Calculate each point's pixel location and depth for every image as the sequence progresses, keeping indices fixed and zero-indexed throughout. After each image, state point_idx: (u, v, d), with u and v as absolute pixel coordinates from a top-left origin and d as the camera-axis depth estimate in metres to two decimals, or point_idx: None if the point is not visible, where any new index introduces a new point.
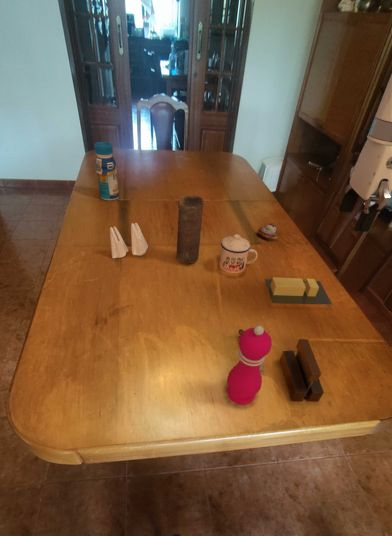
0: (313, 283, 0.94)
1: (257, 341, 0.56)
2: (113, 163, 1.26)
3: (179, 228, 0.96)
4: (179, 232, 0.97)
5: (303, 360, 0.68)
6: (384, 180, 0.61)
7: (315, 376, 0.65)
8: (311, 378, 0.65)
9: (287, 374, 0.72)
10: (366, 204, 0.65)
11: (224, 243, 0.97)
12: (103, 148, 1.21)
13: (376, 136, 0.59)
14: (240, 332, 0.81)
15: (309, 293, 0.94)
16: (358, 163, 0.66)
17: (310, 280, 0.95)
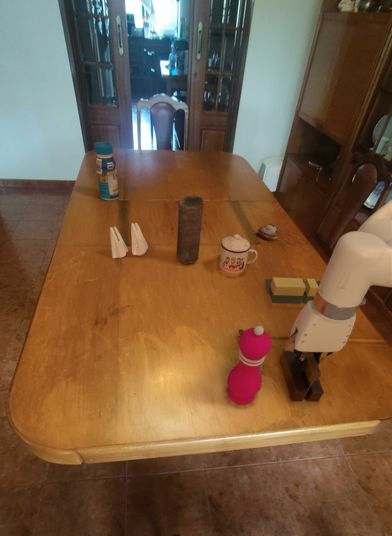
0: (313, 283, 0.94)
1: (257, 341, 0.56)
2: (113, 163, 1.26)
3: (179, 228, 0.96)
4: (179, 232, 0.97)
5: None
6: None
7: (315, 376, 0.65)
8: (311, 378, 0.65)
9: (287, 374, 0.72)
10: (324, 355, 0.66)
11: (224, 243, 0.97)
12: (103, 148, 1.21)
13: (349, 317, 0.55)
14: (240, 332, 0.81)
15: (309, 293, 0.94)
16: (310, 336, 0.60)
17: (310, 280, 0.95)
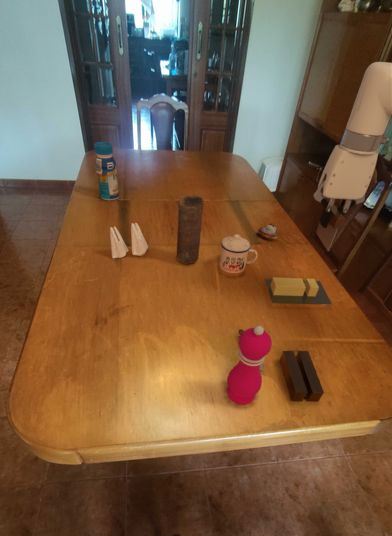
0: (313, 283, 0.94)
1: (257, 341, 0.56)
2: (113, 163, 1.26)
3: (179, 228, 0.96)
4: (179, 232, 0.97)
5: None
6: None
7: (340, 221, 0.74)
8: (336, 225, 0.75)
9: (287, 374, 0.72)
10: (347, 205, 0.75)
11: (224, 243, 0.97)
12: (103, 148, 1.21)
13: (373, 149, 0.65)
14: (240, 332, 0.81)
15: (309, 293, 0.94)
16: (338, 177, 0.70)
17: (310, 280, 0.95)
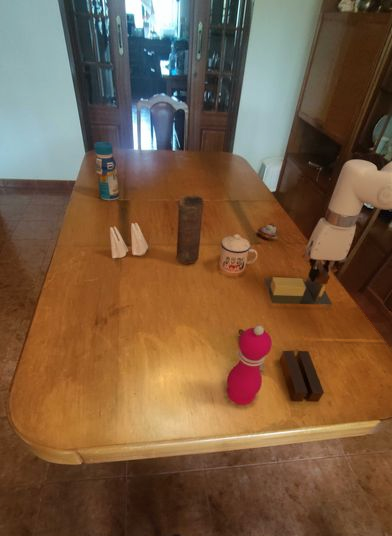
0: None
1: (257, 341, 0.56)
2: (113, 163, 1.26)
3: (179, 228, 0.96)
4: (179, 232, 0.97)
5: None
6: None
7: (325, 279, 0.87)
8: (322, 281, 0.88)
9: (287, 374, 0.72)
10: (331, 264, 0.88)
11: (224, 243, 0.97)
12: (103, 148, 1.21)
13: (351, 225, 0.78)
14: (240, 332, 0.81)
15: None
16: (322, 244, 0.82)
17: None
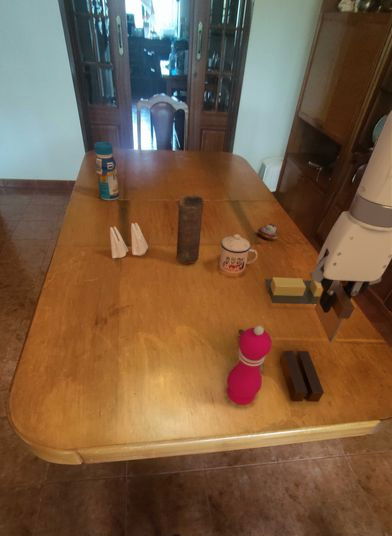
0: (319, 283, 0.94)
1: (257, 341, 0.56)
2: (113, 163, 1.26)
3: (179, 228, 0.96)
4: (179, 232, 0.97)
5: None
6: None
7: (347, 311, 0.54)
8: (342, 315, 0.54)
9: (287, 374, 0.72)
10: (357, 287, 0.55)
11: (224, 243, 0.97)
12: (103, 148, 1.21)
13: None
14: (240, 332, 0.81)
15: (315, 293, 0.94)
16: (345, 256, 0.49)
17: None
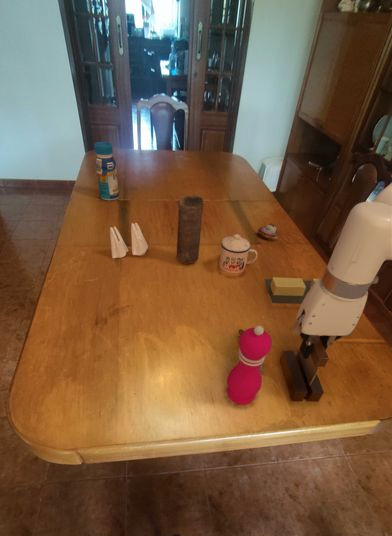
0: None
1: (257, 341, 0.56)
2: (113, 163, 1.26)
3: (179, 228, 0.96)
4: (179, 232, 0.97)
5: None
6: None
7: (323, 361, 0.61)
8: (318, 364, 0.62)
9: (287, 374, 0.72)
10: (332, 339, 0.62)
11: (224, 243, 0.97)
12: (103, 148, 1.21)
13: (361, 296, 0.52)
14: (240, 332, 0.81)
15: None
16: (319, 318, 0.57)
17: None
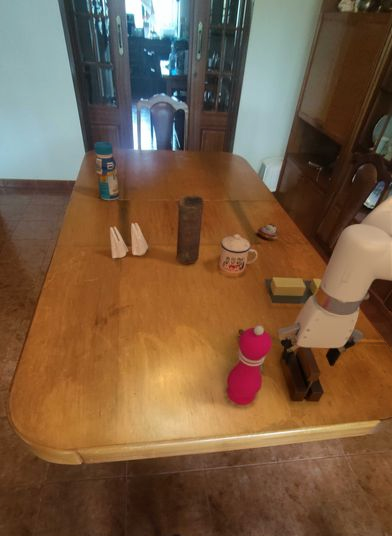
0: (319, 283, 0.94)
1: (257, 341, 0.56)
2: (113, 163, 1.26)
3: (179, 228, 0.96)
4: (179, 232, 0.97)
5: (303, 360, 0.68)
6: None
7: (315, 376, 0.65)
8: (311, 378, 0.65)
9: (287, 374, 0.72)
10: (341, 348, 0.64)
11: (224, 243, 0.97)
12: (103, 148, 1.21)
13: (352, 312, 0.55)
14: (240, 332, 0.81)
15: (315, 293, 0.94)
16: (313, 332, 0.59)
17: (316, 280, 0.95)
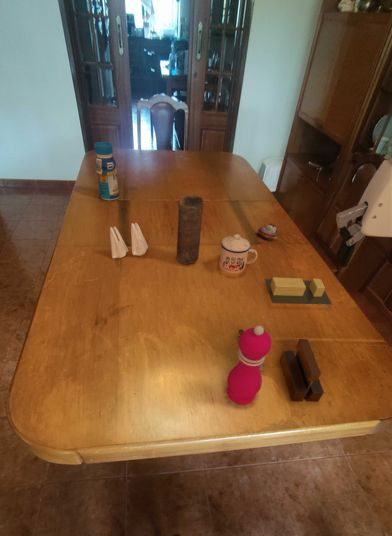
0: (319, 283, 0.94)
1: (257, 341, 0.56)
2: (113, 163, 1.26)
3: (179, 228, 0.96)
4: (179, 232, 0.97)
5: (303, 360, 0.68)
6: None
7: (315, 376, 0.65)
8: (311, 378, 0.65)
9: (287, 374, 0.72)
10: None
11: (224, 243, 0.97)
12: (103, 148, 1.21)
13: None
14: (240, 332, 0.81)
15: (315, 293, 0.94)
16: (386, 207, 0.47)
17: (316, 280, 0.95)
